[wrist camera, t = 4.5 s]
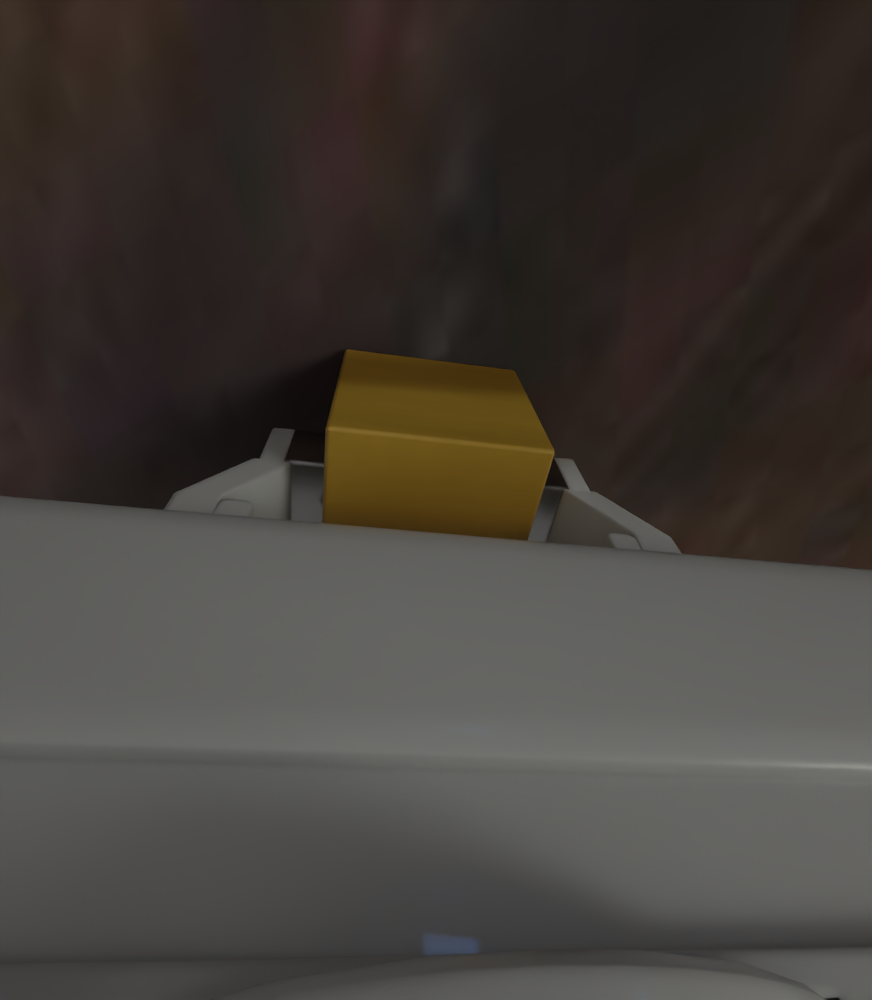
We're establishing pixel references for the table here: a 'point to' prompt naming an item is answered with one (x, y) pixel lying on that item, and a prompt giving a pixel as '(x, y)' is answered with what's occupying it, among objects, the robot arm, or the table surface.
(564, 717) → the robot arm
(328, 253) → the table surface
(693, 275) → the table surface
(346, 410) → the block
